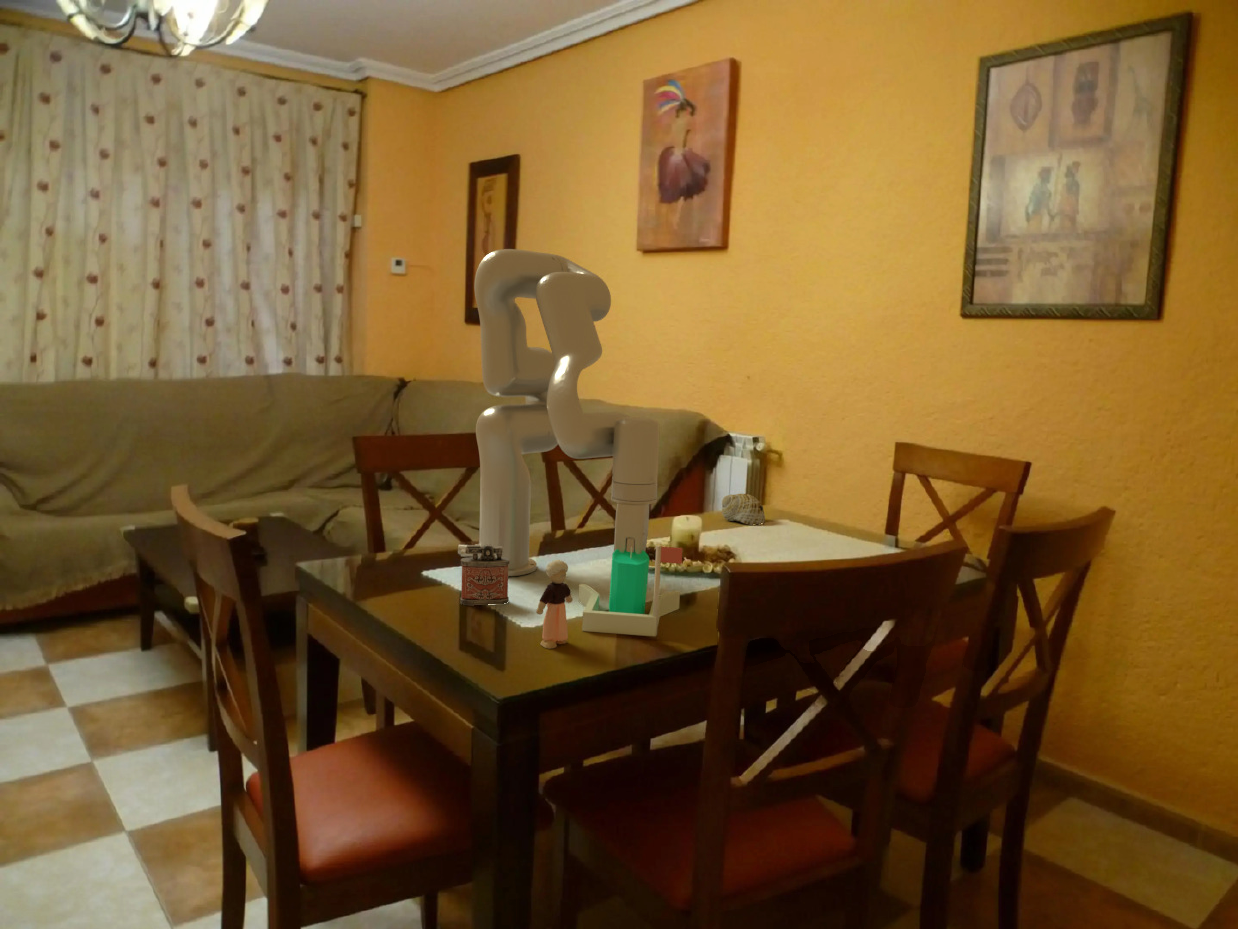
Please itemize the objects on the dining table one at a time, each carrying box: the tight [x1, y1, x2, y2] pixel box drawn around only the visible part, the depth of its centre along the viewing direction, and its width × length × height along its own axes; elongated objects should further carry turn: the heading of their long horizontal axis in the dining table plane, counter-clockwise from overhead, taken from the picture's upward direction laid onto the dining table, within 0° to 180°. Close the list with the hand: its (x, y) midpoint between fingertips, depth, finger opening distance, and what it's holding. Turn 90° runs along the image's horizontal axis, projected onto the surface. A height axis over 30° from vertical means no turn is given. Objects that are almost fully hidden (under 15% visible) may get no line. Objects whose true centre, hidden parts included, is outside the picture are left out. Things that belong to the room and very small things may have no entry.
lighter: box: [459, 544, 510, 606], centre depth 152 cm, size 8×3×10 cm, turn 100°
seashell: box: [721, 493, 766, 526], centre depth 228 cm, size 10×10×10 cm
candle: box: [608, 547, 650, 614], centre depth 146 cm, size 6×6×12 cm
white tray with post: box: [578, 545, 683, 637], centre depth 146 cm, size 18×16×14 cm
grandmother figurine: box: [535, 558, 573, 650], centre depth 134 cm, size 8×4×13 cm, turn 156°
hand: (630, 599), depth 152 cm, fingers closed
